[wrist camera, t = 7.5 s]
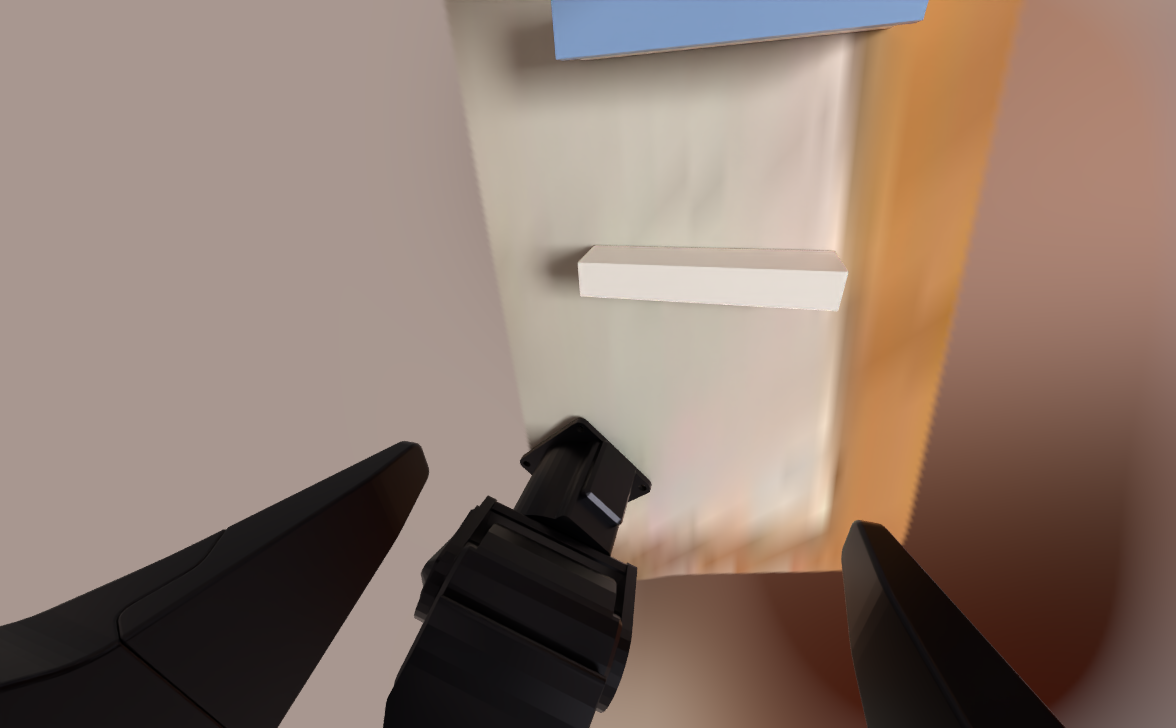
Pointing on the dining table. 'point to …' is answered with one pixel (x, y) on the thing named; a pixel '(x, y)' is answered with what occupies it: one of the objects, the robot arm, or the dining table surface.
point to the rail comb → (699, 20)
